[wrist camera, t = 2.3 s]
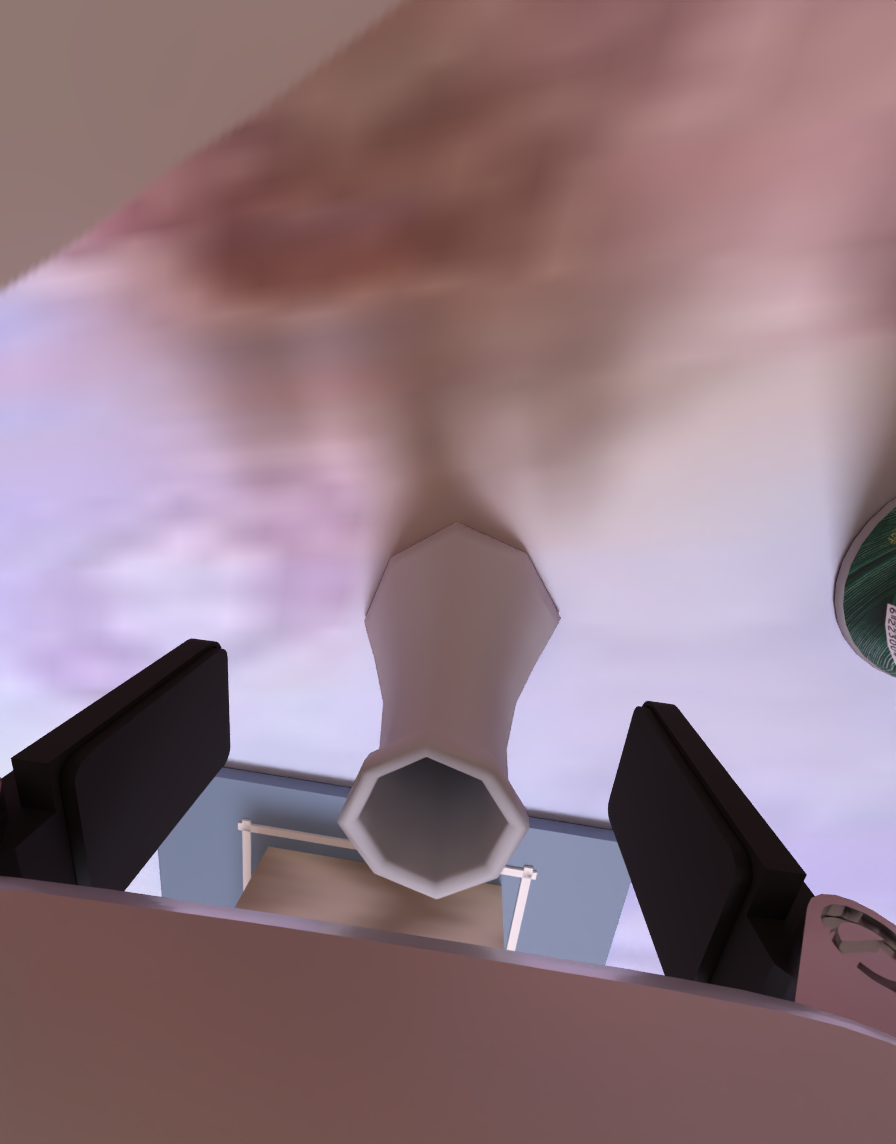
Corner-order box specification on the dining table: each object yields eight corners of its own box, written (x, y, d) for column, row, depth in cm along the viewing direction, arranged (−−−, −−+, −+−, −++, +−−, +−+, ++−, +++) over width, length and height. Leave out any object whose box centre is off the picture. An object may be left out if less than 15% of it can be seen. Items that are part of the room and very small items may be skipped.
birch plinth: (501, 885, 20) (505, 991, 16) (470, 1043, 23) (467, 1163, 19) (268, 846, 20) (217, 938, 16) (267, 1005, 23) (224, 1114, 19)
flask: (455, 485, 16) (409, 536, 6) (593, 614, 17) (742, 835, 7) (335, 618, 18) (156, 819, 8) (465, 728, 18) (445, 1028, 9)
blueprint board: (636, 834, 19) (642, 848, 18) (560, 1088, 24) (562, 1106, 23) (160, 757, 20) (148, 767, 19) (180, 1016, 25) (172, 1031, 24)
